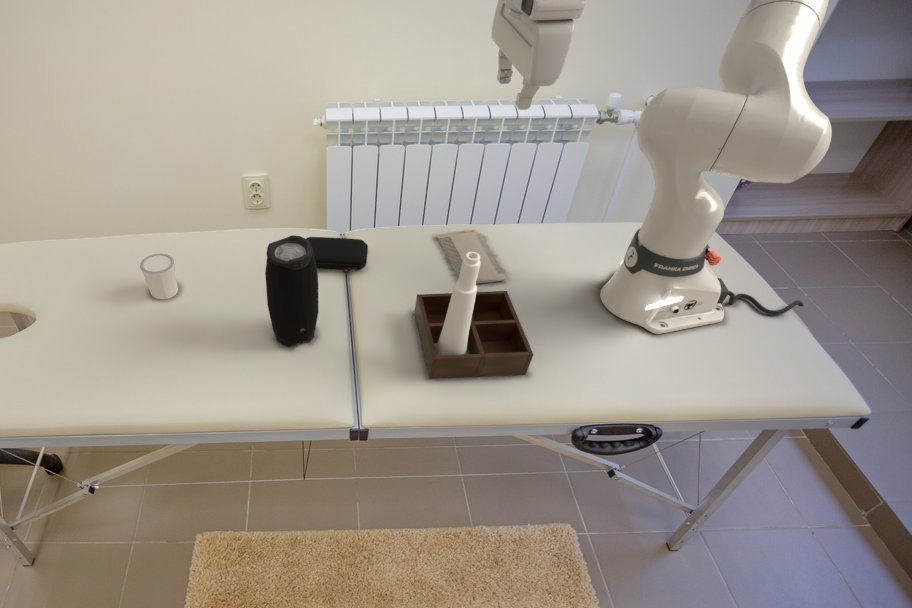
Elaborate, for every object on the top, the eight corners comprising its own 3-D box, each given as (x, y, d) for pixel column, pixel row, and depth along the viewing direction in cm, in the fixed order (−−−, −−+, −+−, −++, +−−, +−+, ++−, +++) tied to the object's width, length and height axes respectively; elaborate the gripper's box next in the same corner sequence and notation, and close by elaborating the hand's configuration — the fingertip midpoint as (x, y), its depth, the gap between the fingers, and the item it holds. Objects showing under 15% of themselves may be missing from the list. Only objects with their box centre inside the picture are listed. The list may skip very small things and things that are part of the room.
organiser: (500, 310, 113) (506, 290, 109) (525, 374, 102) (533, 354, 98) (413, 314, 113) (416, 294, 109) (429, 379, 102) (433, 359, 98)
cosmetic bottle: (445, 340, 107) (467, 239, 90) (472, 356, 104) (500, 254, 87) (426, 357, 104) (445, 256, 87) (453, 373, 101) (479, 272, 84)
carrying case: (296, 273, 122) (365, 277, 121) (296, 262, 120) (366, 265, 118) (302, 245, 129) (367, 248, 128) (302, 233, 127) (368, 236, 125)
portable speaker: (318, 349, 107) (317, 263, 92) (269, 349, 107) (259, 263, 92) (318, 319, 112) (317, 233, 98) (271, 319, 113) (263, 233, 98)
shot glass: (159, 305, 116) (151, 278, 111) (141, 290, 119) (133, 262, 114) (187, 291, 119) (180, 263, 114) (169, 276, 122) (162, 248, 117)
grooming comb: (435, 235, 130) (435, 233, 129) (478, 231, 131) (478, 228, 130) (461, 286, 118) (462, 283, 118) (508, 281, 119) (508, 278, 118)
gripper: (492, -35, 82) (473, 69, 93) (540, 9, 69) (511, 124, 80) (535, -37, 83) (511, 67, 93) (591, 7, 69) (555, 122, 80)
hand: (512, 94), depth 86 cm, fingers open, 8 cm apart
